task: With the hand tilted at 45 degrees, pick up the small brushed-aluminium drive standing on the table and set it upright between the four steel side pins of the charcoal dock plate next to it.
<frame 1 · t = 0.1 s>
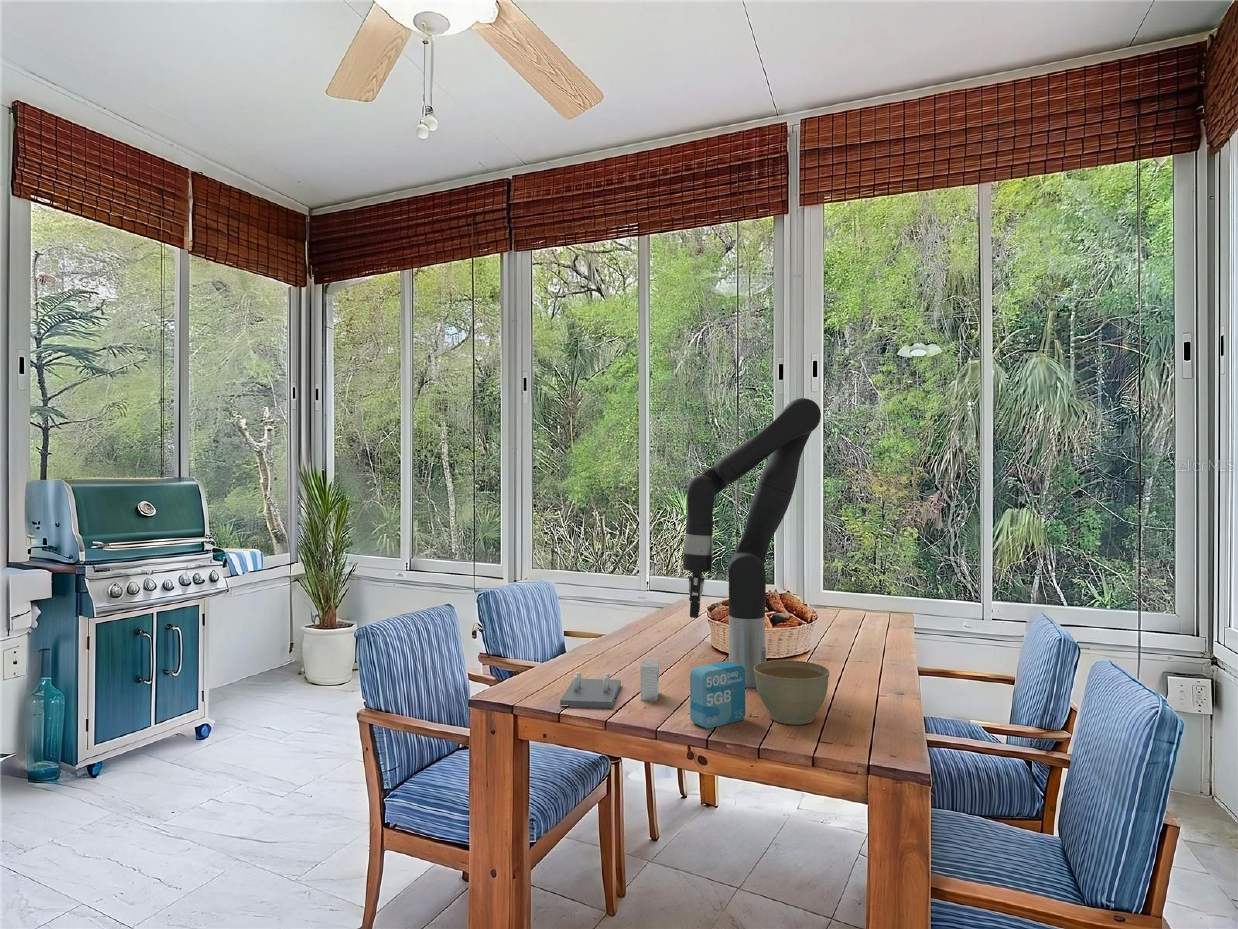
hand: (694, 614, 183), 17 cm above the table, tool pointing down, fingers open, 8 cm apart
data package: (718, 723, 152), on the table
drive dock: (591, 695, 170), on the table
planter bowl: (791, 719, 154), on the table
drive: (649, 696, 170), on the table
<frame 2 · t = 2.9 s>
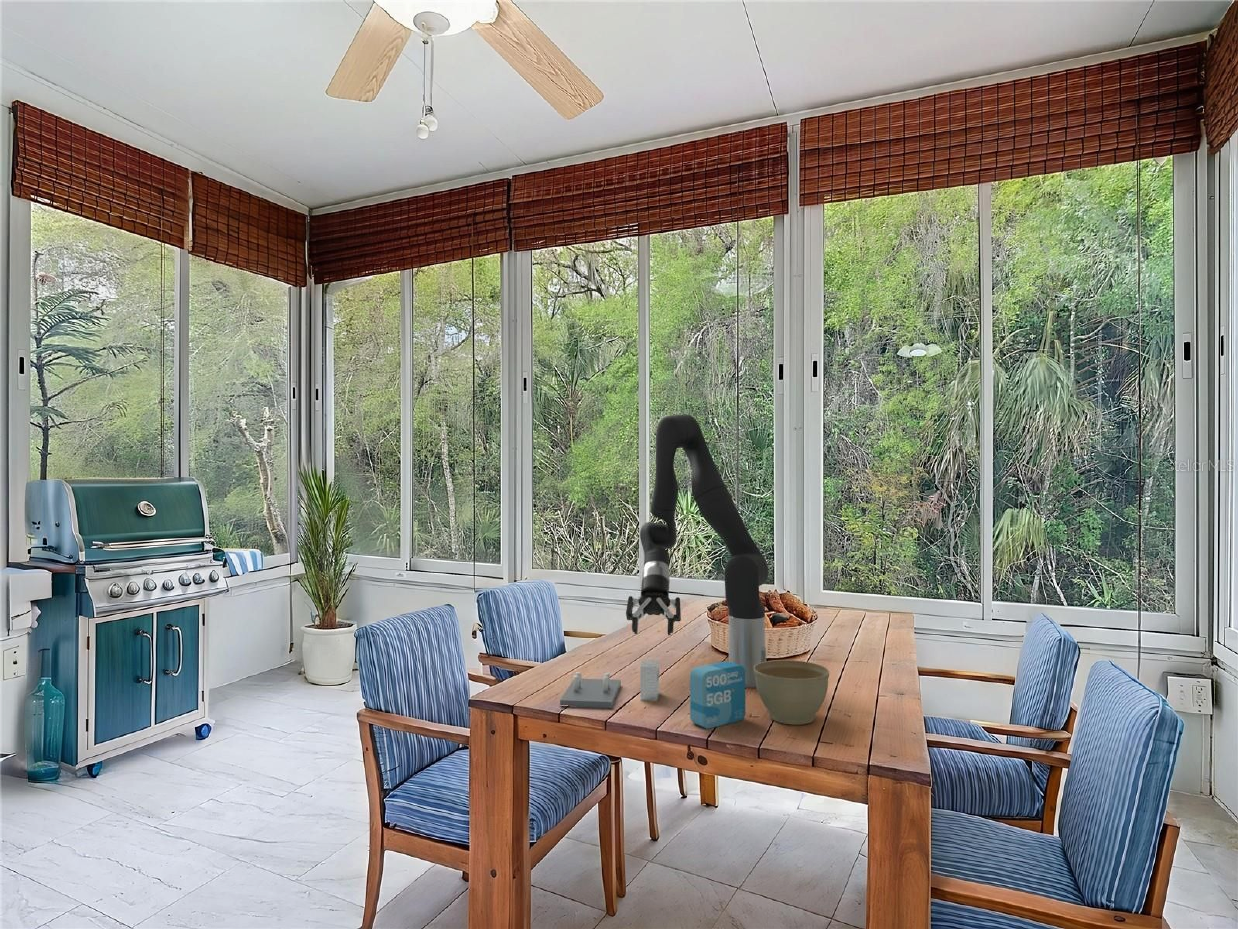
hand: (652, 633, 180), 13 cm above the table, tool tilted 45°, fingers open, 8 cm apart
nothing on the table moved.
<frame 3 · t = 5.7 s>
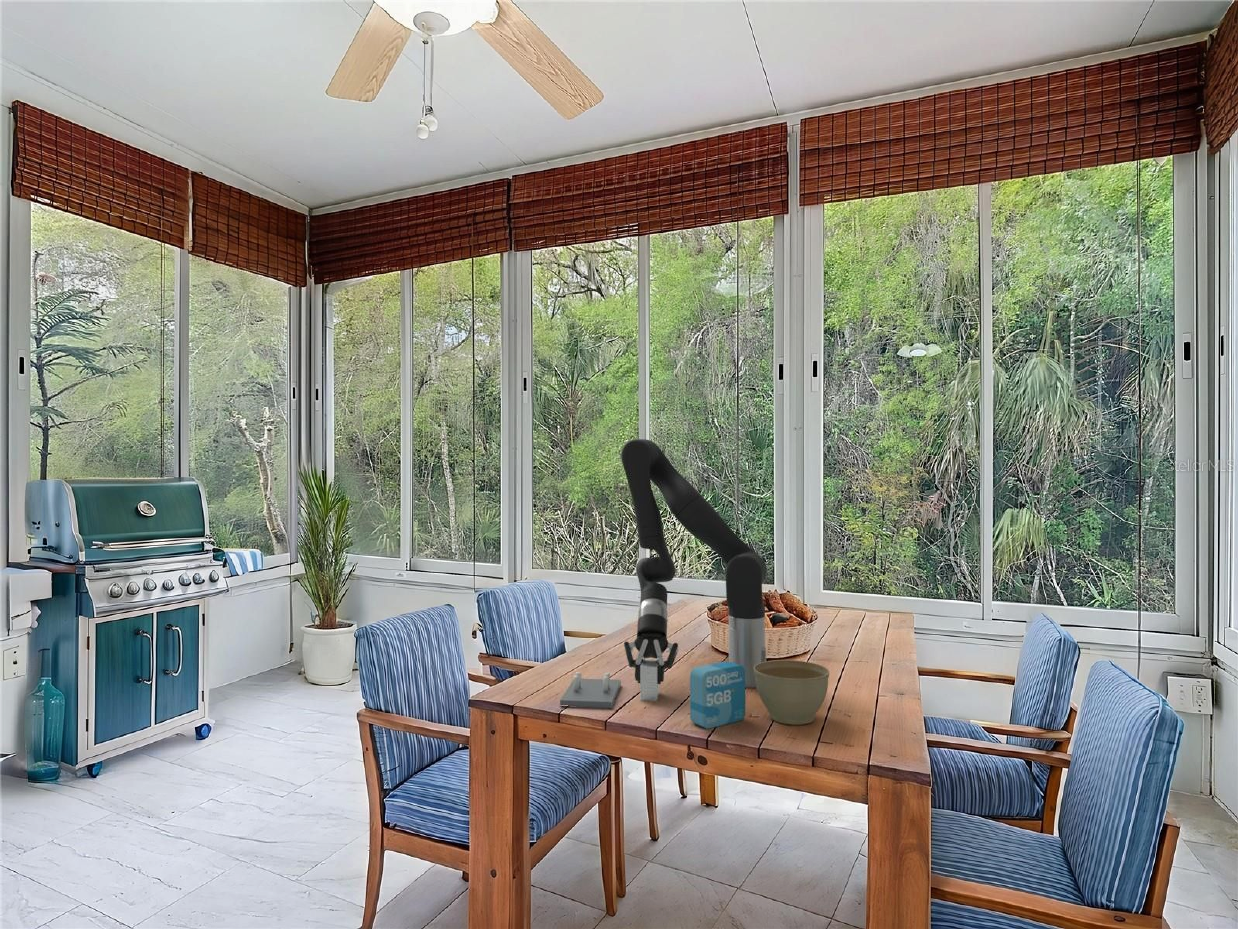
hand: (649, 681, 168), 4 cm above the table, tool tilted 45°, fingers closed on drive, 4 cm apart
drive: (649, 696, 170), on the table, touching gripper
everything else where it was.
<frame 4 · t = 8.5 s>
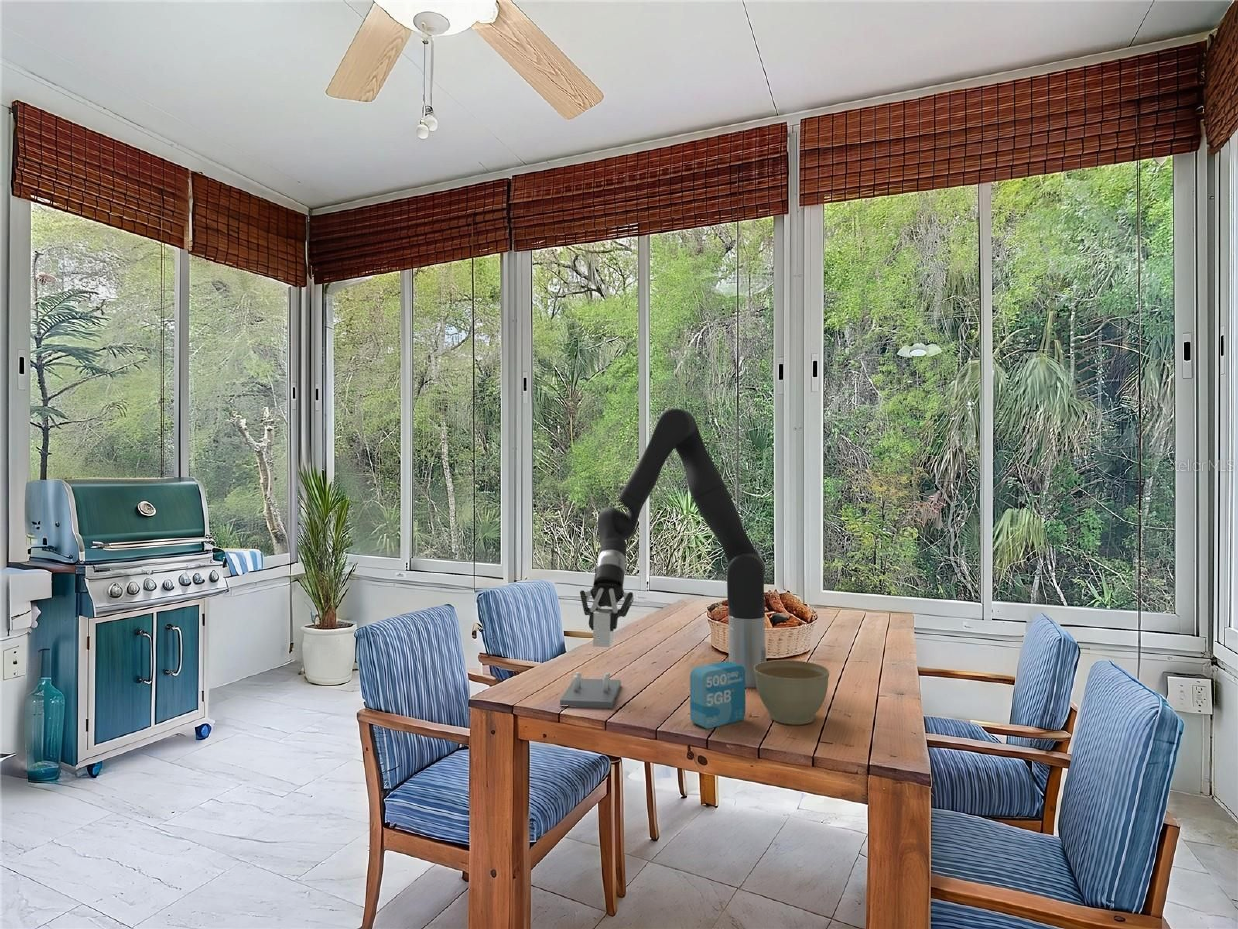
hand: (602, 628, 169), 17 cm above the table, tool tilted 45°, fingers closed on drive, 4 cm apart
drive: (603, 643, 171), point 12 cm above the table, touching gripper
everything else where it was.
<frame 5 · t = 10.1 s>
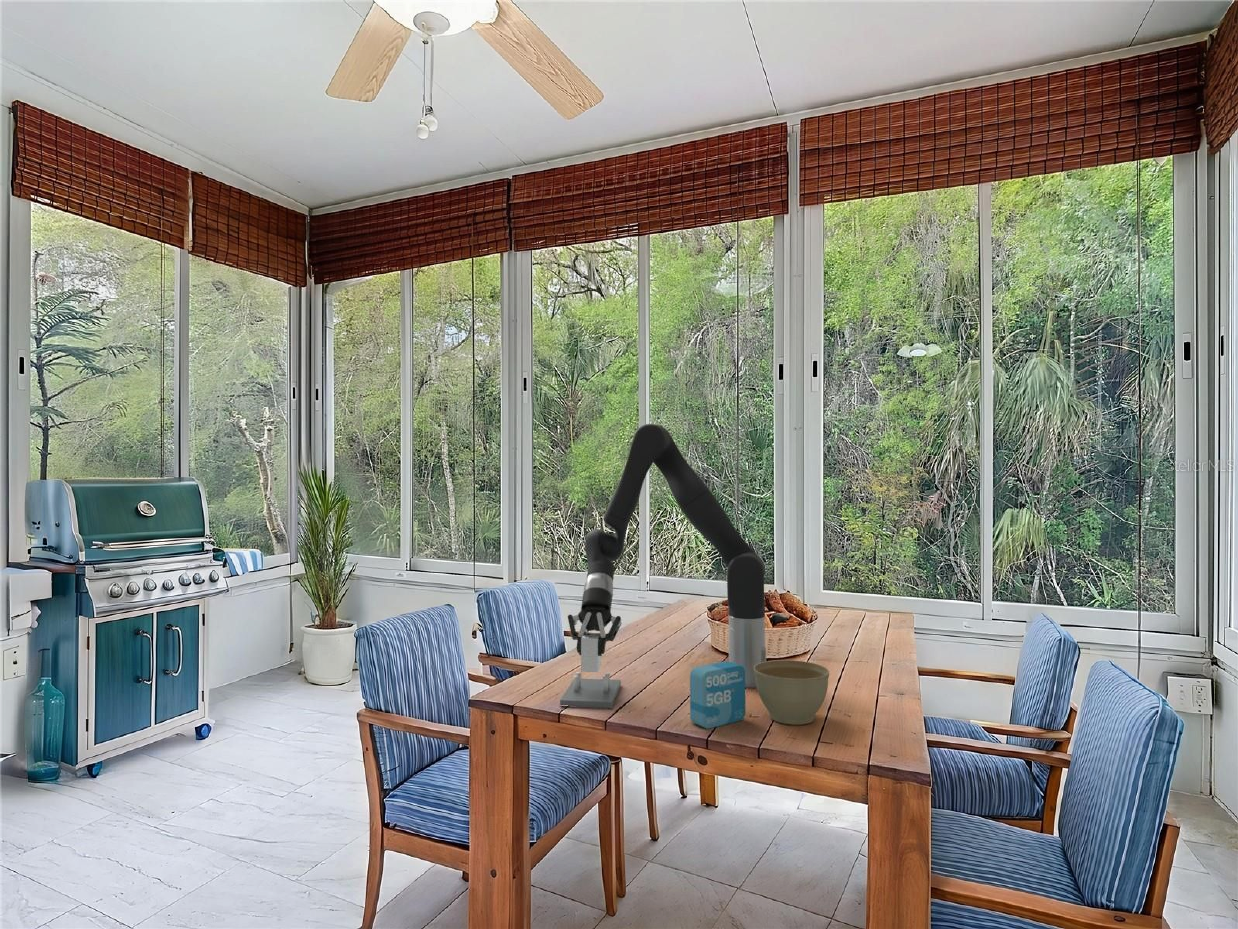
hand: (590, 653, 169), 11 cm above the table, tool tilted 45°, fingers closed on drive, 4 cm apart
drive: (591, 668, 171), point 7 cm above the table, touching gripper
everything else where it was.
when the fingers open (7 cm above the table, at t = 11.3 s): drive drops 1 cm, resting on drive dock.
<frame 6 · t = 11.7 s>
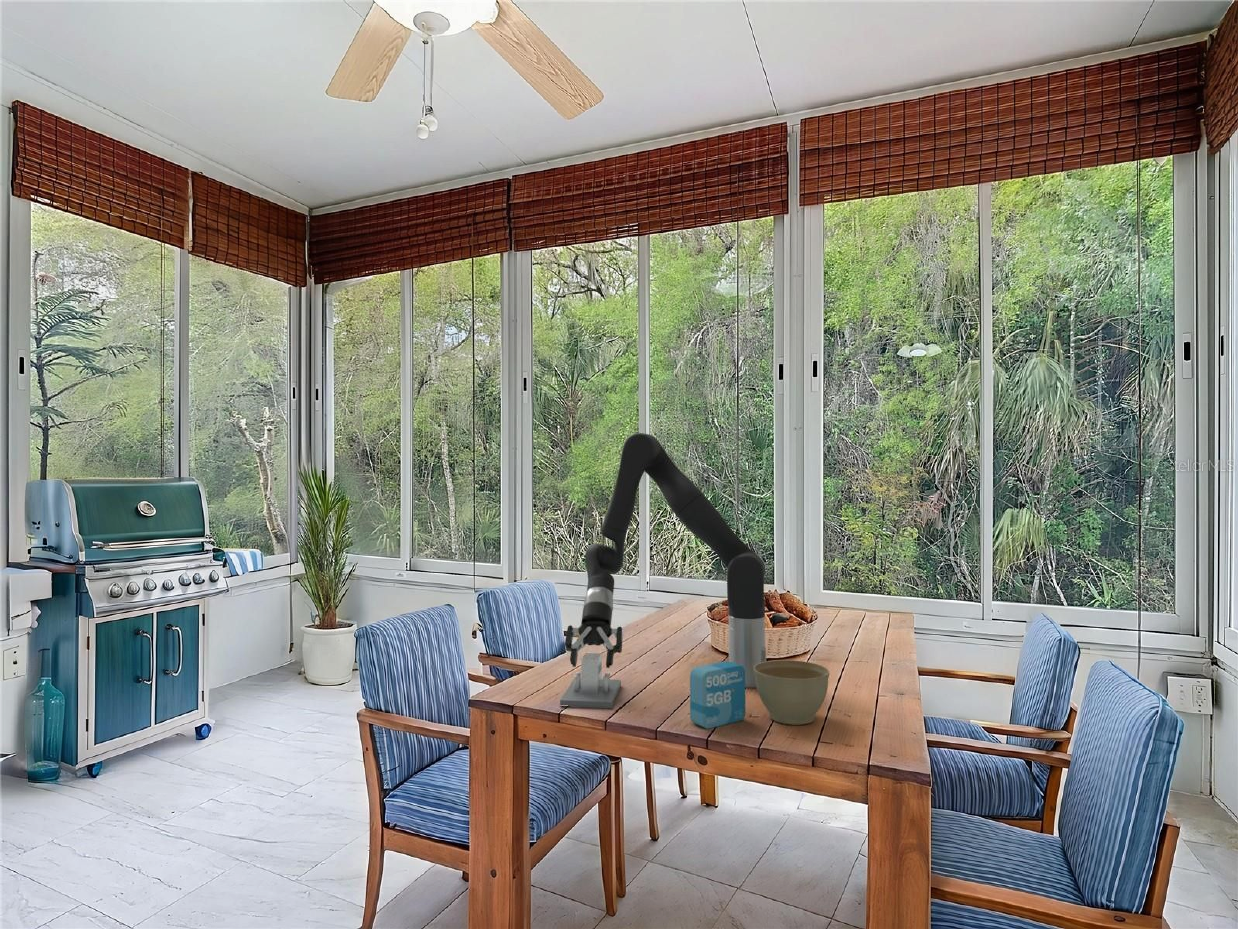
hand: (590, 665, 169), 8 cm above the table, tool tilted 45°, fingers open, 8 cm apart
drive: (591, 689, 171), point 1 cm above the table, touching drive dock
everything else where it was.
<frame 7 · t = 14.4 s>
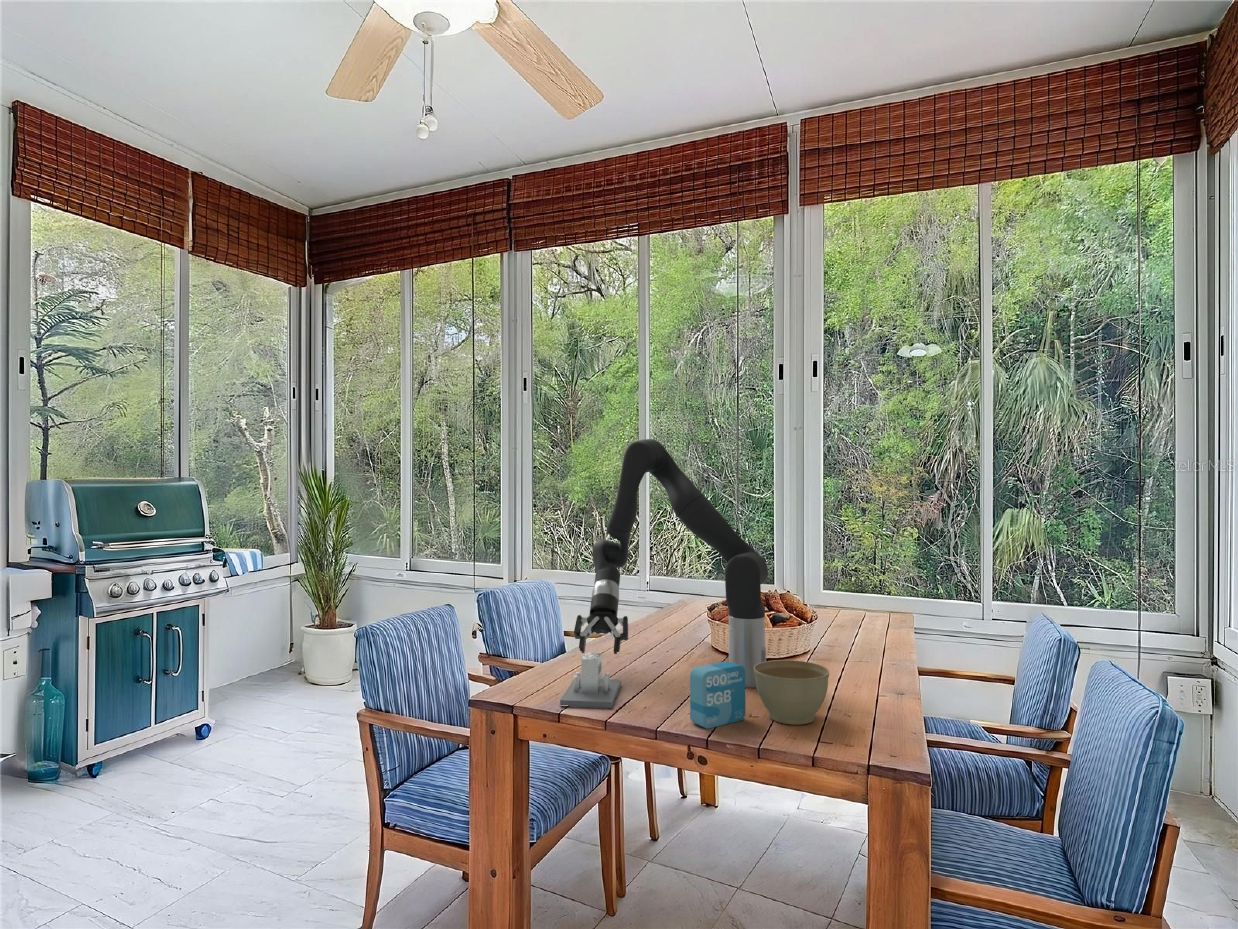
hand: (598, 652, 182), 8 cm above the table, tool tilted 45°, fingers open, 8 cm apart
nothing on the table moved.
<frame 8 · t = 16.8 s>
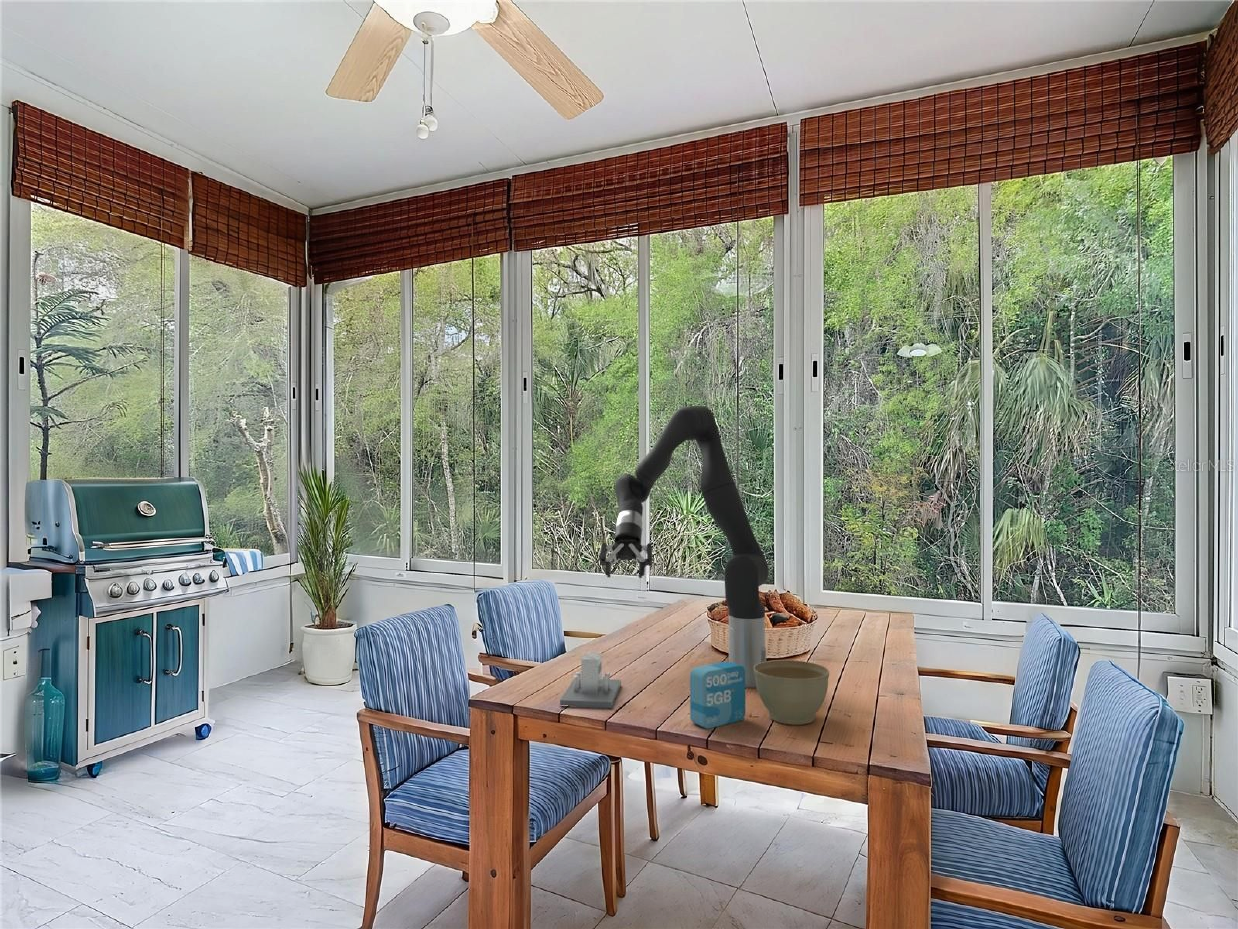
hand: (624, 575, 188), 27 cm above the table, tool tilted 45°, fingers open, 8 cm apart
nothing on the table moved.
at the end: drive 0.1 cm off-centre on the drive dock, point 1.5 cm above the drive dock's base; drive tilted 0°; the gripper is holding nothing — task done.
